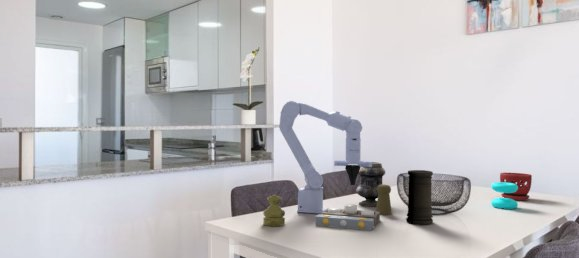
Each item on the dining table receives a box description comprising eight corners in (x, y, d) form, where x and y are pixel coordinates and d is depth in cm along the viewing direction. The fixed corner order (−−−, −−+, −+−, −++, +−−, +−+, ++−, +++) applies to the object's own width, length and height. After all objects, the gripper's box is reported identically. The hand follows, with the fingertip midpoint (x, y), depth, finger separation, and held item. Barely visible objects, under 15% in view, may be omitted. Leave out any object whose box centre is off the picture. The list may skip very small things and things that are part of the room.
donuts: (504, 185, 180) (486, 182, 190) (503, 210, 181) (485, 205, 190) (523, 184, 184) (504, 181, 193) (523, 209, 184) (504, 204, 193)
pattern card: (315, 225, 151) (315, 216, 151) (318, 222, 155) (319, 213, 155) (371, 230, 145) (372, 220, 145) (374, 227, 149) (374, 218, 149)
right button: (359, 222, 155) (360, 212, 155) (362, 220, 159) (362, 210, 159) (372, 223, 154) (372, 213, 154) (374, 221, 158) (374, 211, 158)
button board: (320, 221, 157) (320, 213, 157) (328, 216, 166) (328, 207, 166) (375, 226, 150) (375, 217, 150) (379, 220, 160) (379, 211, 160)
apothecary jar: (391, 205, 189) (391, 162, 189) (370, 208, 183) (370, 163, 182) (370, 200, 199) (371, 160, 199) (350, 203, 193) (350, 161, 192)
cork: (391, 215, 169) (392, 186, 169) (375, 214, 170) (375, 185, 170) (391, 212, 175) (391, 184, 174) (375, 211, 176) (376, 183, 176)
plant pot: (537, 201, 201) (537, 175, 201) (507, 201, 201) (508, 174, 201) (522, 196, 214) (522, 171, 214) (494, 196, 214) (495, 171, 214)
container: (433, 220, 160) (433, 170, 160) (432, 226, 151) (433, 173, 151) (407, 218, 163) (407, 169, 163) (405, 224, 154) (405, 171, 154)
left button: (326, 219, 159) (326, 209, 159) (329, 217, 163) (329, 207, 163) (338, 220, 158) (338, 210, 158) (341, 218, 162) (341, 208, 162)
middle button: (342, 216, 157) (343, 206, 157) (345, 213, 161) (345, 203, 161) (355, 217, 156) (355, 206, 156) (357, 214, 160) (358, 204, 160)
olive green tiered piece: (268, 227, 147) (269, 197, 147) (259, 223, 154) (259, 194, 154) (288, 225, 151) (289, 195, 151) (279, 221, 157) (279, 192, 157)
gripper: (332, 150, 174) (332, 185, 174) (369, 151, 169) (369, 187, 169) (336, 149, 180) (336, 182, 181) (373, 150, 175) (372, 184, 176)
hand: (352, 184), depth 175 cm, fingers closed
